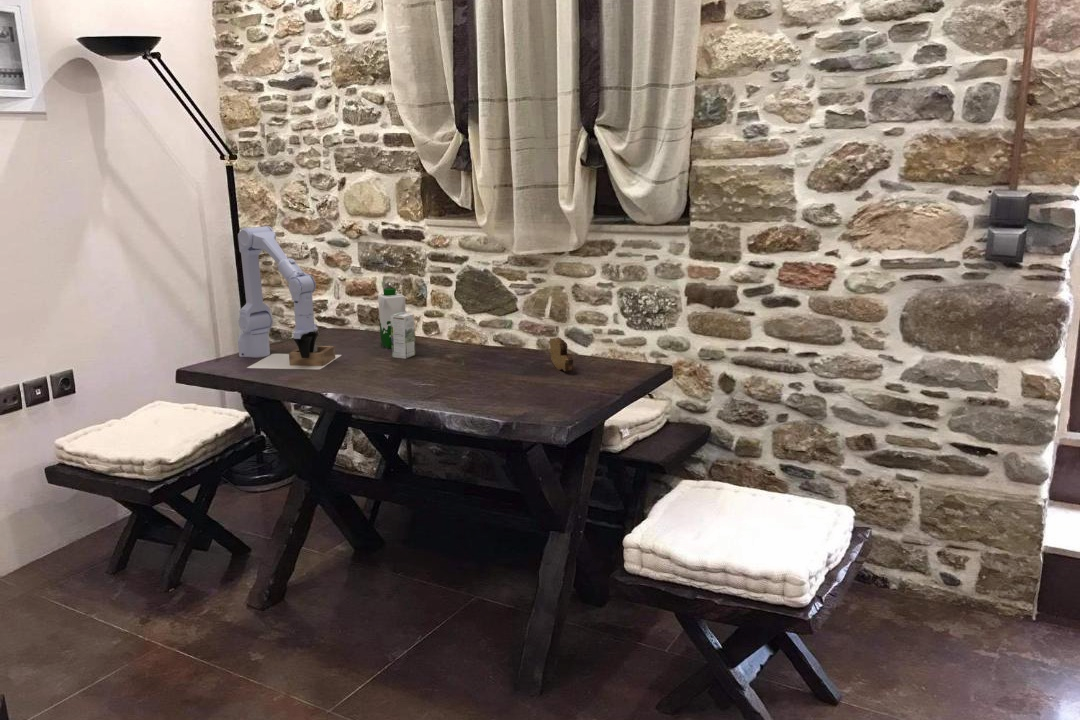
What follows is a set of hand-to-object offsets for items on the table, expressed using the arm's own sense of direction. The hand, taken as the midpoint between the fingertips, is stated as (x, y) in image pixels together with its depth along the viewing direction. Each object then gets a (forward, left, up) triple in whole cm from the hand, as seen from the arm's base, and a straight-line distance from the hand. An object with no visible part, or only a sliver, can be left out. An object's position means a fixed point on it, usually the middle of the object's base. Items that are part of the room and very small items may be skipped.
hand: (307, 356), depth 277 cm
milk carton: (+18, +35, -4) cm, 39 cm away
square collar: (0, +4, -3) cm, 5 cm away
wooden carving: (+80, +6, -4) cm, 80 cm away
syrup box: (+26, +19, -4) cm, 32 cm away
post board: (-6, +5, -4) cm, 9 cm away
